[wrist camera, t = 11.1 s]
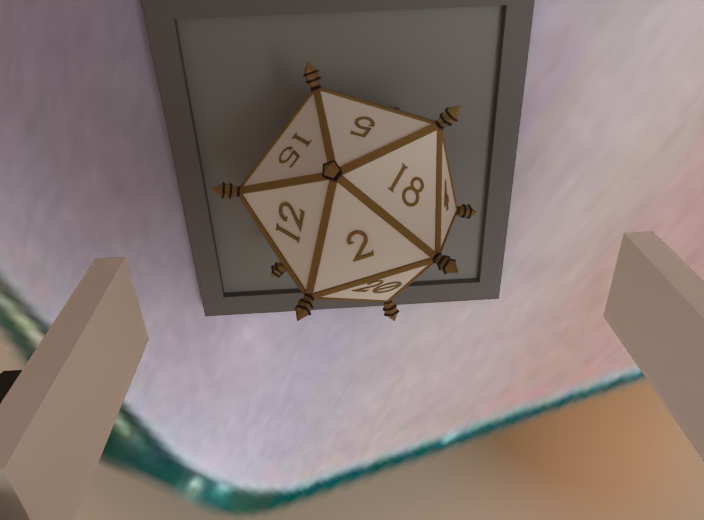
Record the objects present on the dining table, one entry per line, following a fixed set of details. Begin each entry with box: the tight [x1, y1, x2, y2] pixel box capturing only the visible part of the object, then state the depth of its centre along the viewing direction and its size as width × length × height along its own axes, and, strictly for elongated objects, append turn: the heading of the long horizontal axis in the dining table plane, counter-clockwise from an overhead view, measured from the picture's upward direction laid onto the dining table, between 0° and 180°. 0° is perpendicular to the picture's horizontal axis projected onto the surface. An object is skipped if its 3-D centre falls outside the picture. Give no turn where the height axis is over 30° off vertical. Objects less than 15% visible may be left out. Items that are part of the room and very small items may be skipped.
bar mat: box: [141, 0, 534, 316], centre depth 24 cm, size 14×14×1 cm
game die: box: [211, 61, 477, 321], centre depth 20 cm, size 9×8×10 cm
